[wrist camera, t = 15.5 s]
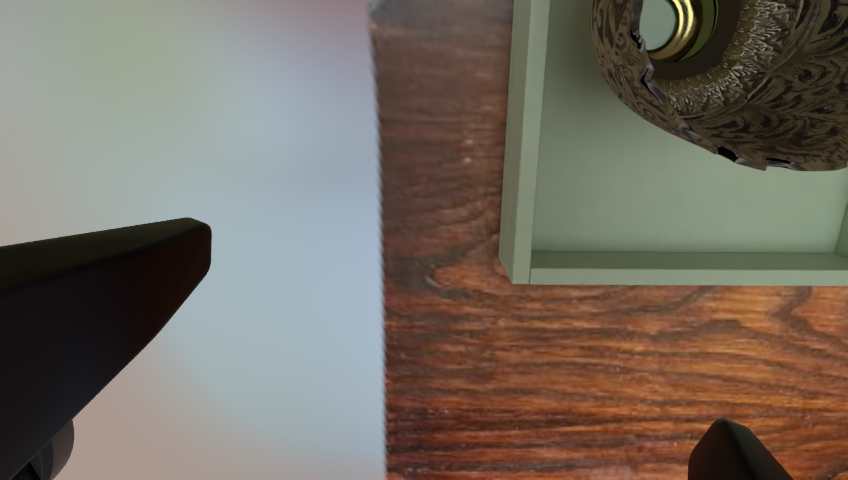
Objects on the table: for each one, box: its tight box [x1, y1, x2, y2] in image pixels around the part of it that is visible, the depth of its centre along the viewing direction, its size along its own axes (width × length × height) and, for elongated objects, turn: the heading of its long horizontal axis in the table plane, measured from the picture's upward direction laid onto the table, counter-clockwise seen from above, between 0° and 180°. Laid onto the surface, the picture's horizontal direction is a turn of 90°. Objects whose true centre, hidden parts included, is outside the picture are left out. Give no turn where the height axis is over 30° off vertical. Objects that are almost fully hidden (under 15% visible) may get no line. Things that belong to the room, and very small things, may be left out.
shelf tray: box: [498, 0, 848, 286], centre depth 17 cm, size 13×17×3 cm
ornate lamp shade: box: [590, 0, 848, 171], centre depth 14 cm, size 8×7×8 cm
